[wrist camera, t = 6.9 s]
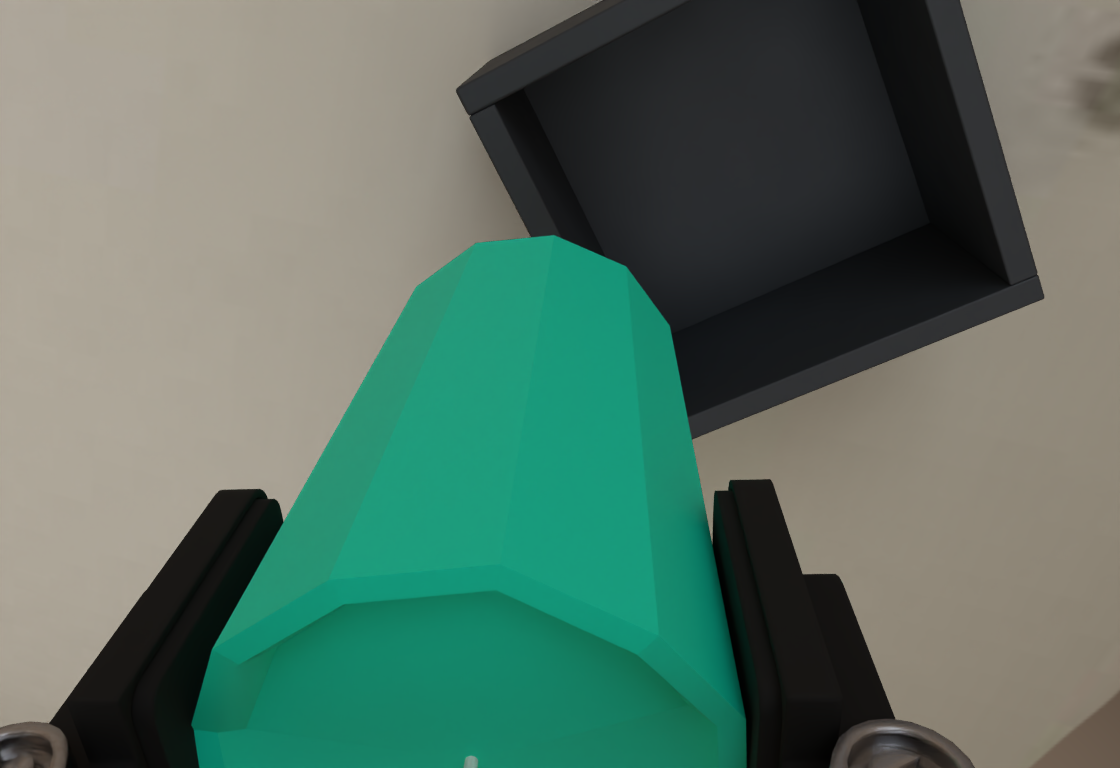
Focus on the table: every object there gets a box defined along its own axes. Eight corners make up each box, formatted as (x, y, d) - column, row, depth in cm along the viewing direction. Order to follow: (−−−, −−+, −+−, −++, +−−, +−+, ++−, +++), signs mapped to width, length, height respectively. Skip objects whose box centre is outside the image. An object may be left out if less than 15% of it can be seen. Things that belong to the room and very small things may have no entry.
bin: (487, 61, 31) (454, 89, 24) (839, -126, 28) (916, -155, 21) (637, 362, 35) (645, 458, 28) (952, 228, 32) (1045, 298, 26)
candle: (505, 170, 17) (335, 550, 6) (737, 354, 18) (940, 930, 7) (337, 389, 19) (-13, 960, 8) (556, 539, 20) (509, 1193, 10)
